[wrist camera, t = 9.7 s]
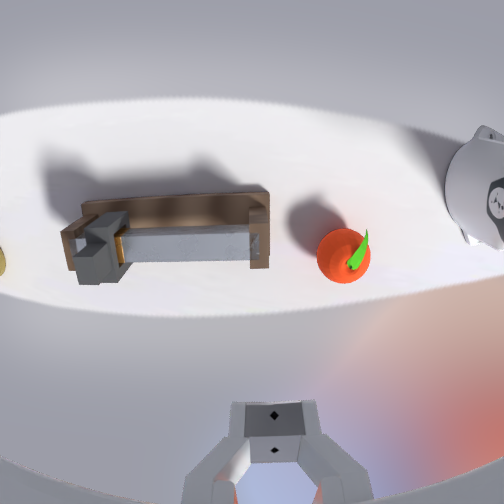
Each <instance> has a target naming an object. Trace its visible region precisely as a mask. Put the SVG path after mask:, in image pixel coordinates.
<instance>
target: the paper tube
mask: <svg viewBox="0 0 504 504" xmlns="http://www.w3.org/2000/svg"><path fill="white" fill-rule="evenodd" d="M5 266H6V263H5V257H4V254H3V252H2V250H1V249H0V276H1V275H2V274H3V273H4V271H5Z"/></svg>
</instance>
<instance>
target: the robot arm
mask: <svg viewBox="0 0 504 504" xmlns="http://www.w3.org/2000/svg"><path fill="white" fill-rule="evenodd" d="M489 135H490V137H489ZM445 197H446V203H447V207H448V210H449V212H450V215H451V217H452V218H453V220H454V221H455V222H456V223H457V224H458V225H459V227H460V228H461V229H462V230H463V233H464V236H465V239H466V242H467V243H468V244H470V245H472V246H475V245H479V244H483V243H484V244H486V245H488V246H490V247H492V248H494V249H496V250H498V251H503V250H504V136H503V135H502V134H500V133H498V132H496V131H495V130H493V129H491V128H489V127H487V126H480V127H479V128H478V130H477V131H476V133H475V135H474V137H473V138H472V140H470V141H469V142H468V143H466V144H465V145H463V146H462V147H461V148H460V149H459V150H458V151H457V153H456V154H455V156H454V157H453V159H452V161H451V163H450V166H449V168H448V172H447V176H446V183H445ZM272 462H297V463H298V464H299V466H300V467H301V468H302V469H303V471H304V472H305V473H306V474H307V475H308V477H309V478H310V479H311V480H312V481H313V482H314V484H315V485H316V486H317V487H318V490H317V492H316V495H315V498H314V501H313V503H312V504H504V456H503V457H501V458H499V459H497V460H495V461H493V462H490V463H488V464H486V465H483V466H481V467H479V468H476V469H474V470H471V471H469V472H466V473H464V474H461V475H458V476H455V477H453V478H450V479H447V480H444V481H442V482H438V483H435V484H432V485H428V486H425V487H422V488H418V489H415V490H411V491H407V492H403V493H399V494H395V495H391V496H387V497H382V498H378V499H374V497H373V493H372V488H371V484H370V480H369V476H368V472H367V470H366V469H365V468H364V467H363V466H361V465H360V464H359V463H358V462H357V461H356V460H354V459H353V458H352V457H351V456H350V455H349V454H348V453H346V452H345V451H344V450H343V449H342V448H341V447H340V446H339V445H338V444H336V443H335V442H334V441H333V440H332V439H331V438H330V437H329V436H328V435H327V434H322V432H321V427H320V421H319V416H318V410H317V405H316V401H315V400H303V401H302V400H301V401H300V400H298V401H282V402H232V403H231V410H230V422H229V436H228V437H224V438H223V439H222V440H221V441H220V442H219V443H218V444H217V445H216V446H215V447H214V448H213V449H212V451H211V452H210V453H209V454H208V455H207V456H206V457H205V458H204V459H203V460H202V461H201V462H200V463H199V464H198V465H197V466H196V467H195V468H194V469H193V470H192V471H191V472H190V473H189V474H188V475H187V476H186V477H185V483H184V488H183V494H182V501H181V504H238V502H237V497H236V490H235V485H236V484H237V482H238V481H239V480H240V478H241V477H242V476H243V474H244V473H245V472H246V470H247V469H248V467H249V466H250V465H251V463H272ZM0 504H156V503H150V502H144V501H139V500H134V499H128V498H124V497H119V496H115V495H111V494H107V493H103V492H99V491H95V490H92V489H88V488H84V487H81V486H78V485H75V484H72V483H68V482H65V481H62V480H59V479H57V478H54V477H51V476H48V475H45V474H43V473H40V472H38V471H35V470H33V469H30V468H28V467H25V466H23V465H21V464H18V463H16V462H14V461H11V460H9V459H7V458H5V457H3V456H1V455H0Z"/></svg>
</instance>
